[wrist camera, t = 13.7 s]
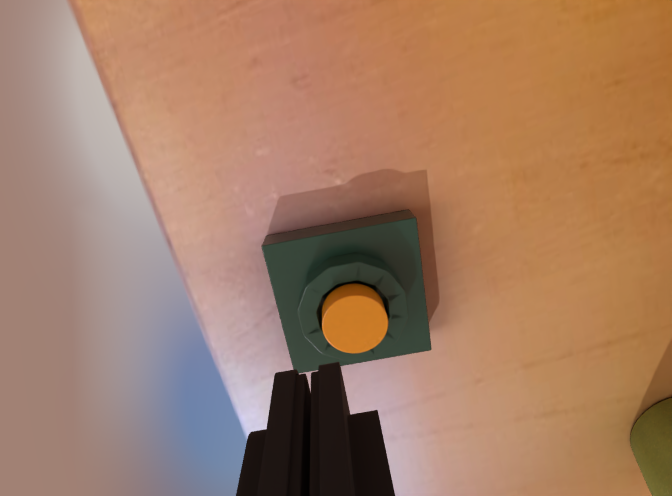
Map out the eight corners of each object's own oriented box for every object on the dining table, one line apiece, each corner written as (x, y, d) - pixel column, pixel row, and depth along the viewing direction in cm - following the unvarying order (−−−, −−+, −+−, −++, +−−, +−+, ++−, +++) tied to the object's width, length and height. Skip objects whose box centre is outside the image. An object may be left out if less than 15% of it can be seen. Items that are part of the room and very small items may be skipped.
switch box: (296, 356, 30) (292, 391, 27) (265, 235, 27) (256, 255, 23) (424, 333, 30) (438, 365, 26) (409, 209, 27) (423, 225, 23)
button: (328, 343, 26) (328, 359, 24) (316, 289, 25) (315, 301, 23) (387, 332, 26) (392, 347, 24) (379, 277, 24) (383, 289, 23)
